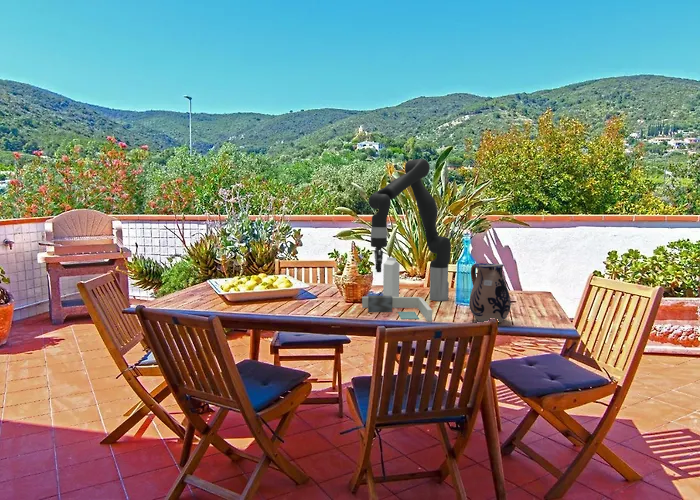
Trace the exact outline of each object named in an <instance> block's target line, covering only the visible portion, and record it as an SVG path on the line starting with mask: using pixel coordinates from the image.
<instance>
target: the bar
mask: <svg viewBox="0 0 700 500" xmlns="http://www.w3.org/2000/svg"><path fill="white" fill-rule="evenodd" d="M367 297H368V308H367V310H368V313H393V308H392V296H383V295H367Z"/></svg>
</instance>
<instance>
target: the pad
mask: <svg viewBox="0 0 700 500" xmlns="http://www.w3.org/2000/svg"><path fill="white" fill-rule="evenodd" d="M397 314H398V316H399V317H400V320H420V318H419V316H418V315H417V313H416V311H397Z"/></svg>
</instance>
